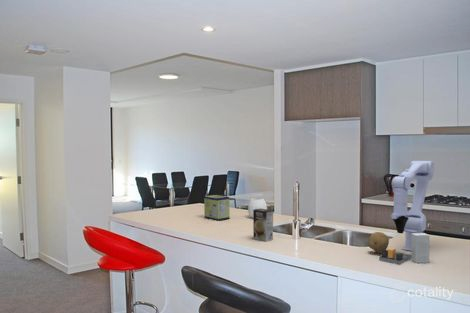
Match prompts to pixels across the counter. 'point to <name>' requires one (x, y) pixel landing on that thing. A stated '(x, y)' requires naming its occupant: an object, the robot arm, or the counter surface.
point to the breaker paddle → (391, 253)
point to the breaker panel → (398, 259)
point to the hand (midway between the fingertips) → (400, 232)
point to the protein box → (216, 207)
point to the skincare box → (420, 247)
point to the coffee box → (263, 224)
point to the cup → (256, 205)
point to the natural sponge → (378, 242)
